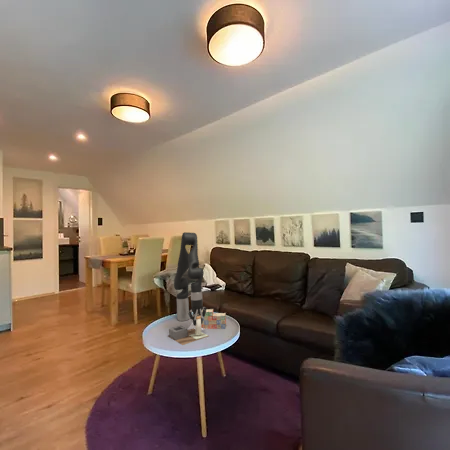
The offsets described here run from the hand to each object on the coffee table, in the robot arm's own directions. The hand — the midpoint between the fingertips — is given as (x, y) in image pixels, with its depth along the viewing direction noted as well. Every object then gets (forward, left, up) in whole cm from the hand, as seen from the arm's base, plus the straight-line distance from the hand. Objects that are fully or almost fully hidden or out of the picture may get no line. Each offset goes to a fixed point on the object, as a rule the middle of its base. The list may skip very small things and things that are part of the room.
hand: (197, 324), depth 184 cm
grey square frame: (-9, -10, -8) cm, 15 cm away
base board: (-4, -5, -9) cm, 11 cm away
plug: (0, 0, -6) cm, 6 cm away
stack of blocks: (-11, +18, -9) cm, 23 cm away
